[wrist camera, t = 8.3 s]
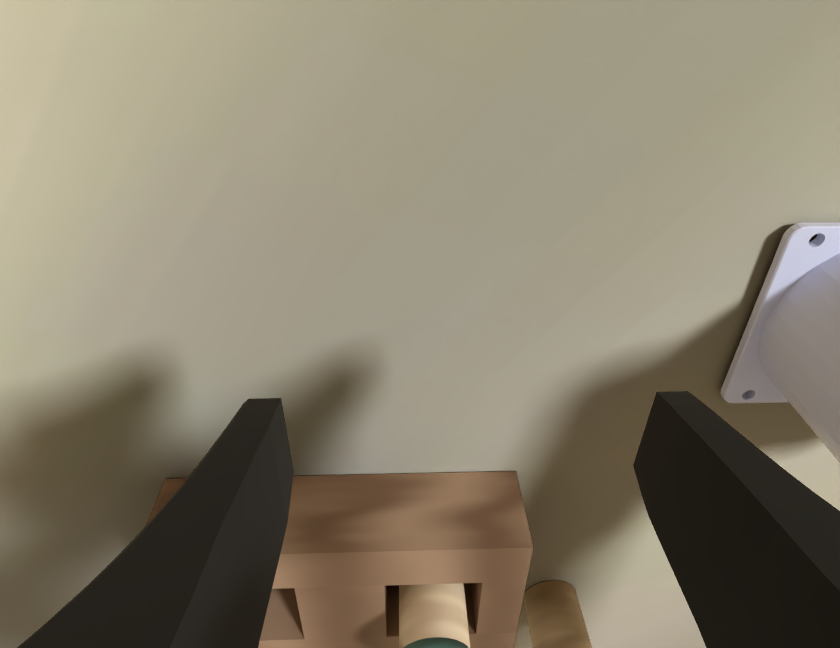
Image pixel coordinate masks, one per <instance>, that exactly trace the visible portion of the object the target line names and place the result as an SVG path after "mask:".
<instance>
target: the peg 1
mask: <svg viewBox="0 0 840 648" xmlns="http://www.w3.org/2000/svg"><path fill="white" fill-rule="evenodd" d="M399 648H470V640H469V630H468V620H467V611H466V601H465V592H464V583H456V584H421V585H399Z"/></svg>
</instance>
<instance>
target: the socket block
mask: <svg viewBox="0 0 840 648" xmlns="http://www.w3.org/2000/svg"><path fill="white" fill-rule="evenodd" d="M186 479H187V478H178V479H165V481H164V484H163V486H162V488H161V491H160V493H159V496H158V498H157V500H156V503H155V505H154V507H153V510H152V512H151V515H150V517H149V519H148V522H147V524H148V523H149V522H150V521H151V520H152V519H153V518H154V516H155V515H156V514H157V513H158V512H159V511H160V510H161V509H162V507H163V506H164V505H165V504H166V503H167V502H168V501H169V500H170V498H171V497H172V496H173V495H174V494H175V493H176V491H177V490H178V489H179V488H180V487H181V485H182V484H183V483H184V482H185V480H186ZM147 524H146V526H147ZM532 552H533V544H532V539H531V535H530V531H529V526H528V522H527V517H526V513H525V508H524V504H523V499H522V495H521V491H520V486H519V482H518V477H517V473H516V471H500V472H454V473H408V474H362V475H316V476H293V481H292V490H291V499H290V507H289V515H288V523H287V527H286V532H285V536H284V540H283V545H282V549H281V553H280V557H279V562H278V566H277V570H276V574H275V578H274V582H273V587H272V591H271V595H270V599H269V603H268V607H267V612H266V616H265V620H264V624H263V628H262V632H261V637H260V641H259V646H258V648H399V585H421V584H456V583H464V592H465V601H466V611H467V620H468V630H469V640H470V648H513V647H514V642H515V637H516V632H517V627H518V622H519V617H520V612H521V607H522V602H523V597H524V592H525V587H526V582H527V577H528V572H529V567H530V562H531V557H532Z"/></svg>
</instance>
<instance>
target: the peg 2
mask: <svg viewBox="0 0 840 648" xmlns="http://www.w3.org/2000/svg"><path fill="white" fill-rule="evenodd" d="M523 602H524V606H525V611H526V616H527V621H528V626H529V631H530V636H531V640H532V645H533V648H592V646H591V643H590V639H589V636H588V632H587V629H586V625H585V622H584V618H583V615H582V611H581V608H580V605H579V601H578V598H577V594H576V591H575V588H574V587H573V586H572V585H571V584H569V583H567V582H564V581H557V580H552V581H545V582H541V583H538V584H536V585H534V586H532V587H530V588H529V589H528V590H527V591H526V592H525V593H524V597H523Z"/></svg>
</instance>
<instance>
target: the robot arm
mask: <svg viewBox="0 0 840 648" xmlns="http://www.w3.org/2000/svg"><path fill="white" fill-rule="evenodd" d="M815 234H818V235H817V237H816V238H815V239H814V240H812V241H810V242H809V240H810V239H811V237H812V236H814V235H815ZM748 390H749V391H748ZM746 391H747V392H746ZM744 392H746V393H744ZM721 395H722V397H723V398H724V400H725V401H726V402H728V403H782V402H789V403H790V404H791V405H792V406H793V407H794V409H795V410H796V411H797V412H798V413H799V415H800V416H801V417H802V418H803V419H804V421H805V422H806V423H807V424H808V425H809V426H810V428H811V429H812V430H813V431H814V432H815V434H816V435H817V436H818V437H819V438H820V440H821V441H822V442H823V443H824V444H825V446H826V447H827V448H828V449H829V450H830V452H831V453H832V454H833V455H834V456H835V458H836V459H837V460H838V461H839V462H840V222H816V223H797V224H795V225H793V226H791V227H790V228H789V229H787V230H786V231H785V233H784V235H783V237H782V239H781V241H780V244H779V246H778V249H777V251H776V254H775V256H774V259H773V261H772V264H771V266H770V269H769V271H768V274H767V276H766V279H765V281H764V284H763V286H762V289H761V291H760V294H759V296H758V299H757V301H756V304H755V306H754V309H753V311H752V314H751V316H750V319H749V321H748V324H747V326H746V329H745V331H744V334H743V336H742V339H741V341H740V344H739V346H738V349H737V351H736V354H735V356H734V359H733V361H732V364H731V366H730V369H729V371H728V374H727V376H726V378H725V381H724V383H723V386H722V388H721ZM634 469H635V473H636V476H637V480H638V483H639V487H640V490H641V494H642V497H643V500H644V503H645V506H646V509H647V513H648V515H649V518H650V520H651V522H652V525H653V527H654V529H655V532H656V534H657V536H658V538H659V541H660V543H661V545H662V547H663V550H664V552H665V554H666V556H667V559H668V561H669V563H670V565H671V567H672V570H673V572H674V574H675V576H676V579H677V581H678V583H679V585H680V587H681V590H682V592H683V594H684V596H685V599H686V601H687V603H688V605H689V607H690V610H691V612H692V614H693V616H694V619H695V621H696V623H697V625H698V628H699V630H700V633H701V635H702V638H703V640H704V642H705V645H706V647H707V648H840V511H839V510H837V509H836V508H835V507H833V506H832V505H831V504H829V503H828V502H826V501H825V500H824V499H822V498H821V497H820V496H818V495H817V494H815V493H814V492H813V491H811V490H810V489H809V488H808V487H806V486H805V485H804V484H802V483H801V482H800V481H798V480H797V479H796V478H794V477H793V476H792V475H791V474H789V473H788V472H787V471H786V470H784V469H783V468H782V467H780V466H779V465H778V464H777V463H776V462H774V461H773V460H772V459H771V458H769V457H768V456H767V455H766V454H764V453H763V452H762V451H761V450H759V449H758V448H757V447H756V446H754V445H753V444H752V443H751V442H750V441H748V440H747V439H746V438H745V437H744V436H742V435H741V434H740V433H739V432H738V431H736V430H735V429H734V428H733V427H731V426H730V425H729V424H728V423H727V422H725V421H724V420H723V419H722V418H721V417H719V416H718V415H717V414H716V413H715V412H713V411H712V410H711V409H710V408H708V407H707V406H706V405H705V404H704V403H702V402H701V401H700V400H698V399H697V398H696V397H695V396H693V395H692V394H691V393H689V392H688V391H683V392H657V393H656V396H655V399H654V402H653V405H652V408H651V412H650V415H649V418H648V421H647V424H646V427H645V430H644V434H643V437H642V440H641V443H640V446H639V449H638V452H637V455H636V459H635V462H634ZM292 481H293V467H292V461H291V455H290V449H289V443H288V437H287V431H286V425H285V419H284V413H283V407H282V401H281V398H269V399H248V400H247V401H246V402H245V403H244V404H243V405H242V406H241V408H240V409H239V411H238V412H237V413H236V415H235V416H234V418H233V419H232V420H231V422H230V423H229V425H228V426H227V427H226V429H225V430H224V431H223V433H222V434H221V436H220V437H219V438H218V440H217V441H216V442H215V444H214V445H213V446H212V448H211V449H210V450H209V451H208V453H207V454H206V455H205V457H204V458H203V459H202V460H201V462H200V463H199V464H198V465H197V467H196V468H195V469H194V470H193V472H192V473H191V474H190V475H189V477H188V478H187V479H186V480H185V482H184V483H183V484H182V485H181V487H180V488H179V489H178V490H177V491H176V493H175V494H174V495H173V496H172V497H171V498H170V500H169V501H168V502H167V503H166V504H165V505H164V506H163V507H162V509H161V510H160V511H159V512H158V513H157V514H156V515H155V516H154V518H153V519H152V520H151V521H150V522H149V523H148V524H147V526H146V527H145V528H144V529H143V530H142V531H141V532H140V533H139V534H138V535H137V536H136V538H135V539H134V540H133V541H132V542H131V543H130V544H129V545H128V546H127V547H126V548H125V549H124V550H123V551H122V552H121V553H120V554H119V555H118V556H117V557H116V558H115V559H114V560H113V561H112V562H111V563H110V564H109V565H108V566H107V567H106V568H105V569H104V570H103V571H102V572H101V573H100V574H99V575H98V576H97V577H96V578H95V579H94V580H93V581H92V582H91V583H90V584H89V585H88V586H86V587H85V588H84V589H83V590H82V591H81V592H80V593H79V594H78V595H77V596H75V597H74V598H73V599H72V600H71V601H70V602H69V603H68V604H67V605H66V606H65V607H63V608H62V609H61V610H60V611H59V612H58V613H57V614H56V615H55V616H54V617H52V618H51V619H50V620H49V621H48V622H47V623H46V624H44V625H43V626H42V627H41V628H40V629H39V630H38V631H36V632H35V633H34V634H33V635H32V636H31V637H29V638H28V639H27V640H26V641H25V642H23V643H22V644H21V645H20V646H19V647H17V648H258V646H259V641H260V637H261V632H262V628H263V624H264V620H265V616H266V612H267V607H268V603H269V599H270V595H271V591H272V587H273V582H274V578H275V574H276V570H277V566H278V562H279V557H280V553H281V549H282V545H283V540H284V536H285V532H286V527H287V523H288V515H289V507H290V499H291V490H292Z"/></svg>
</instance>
